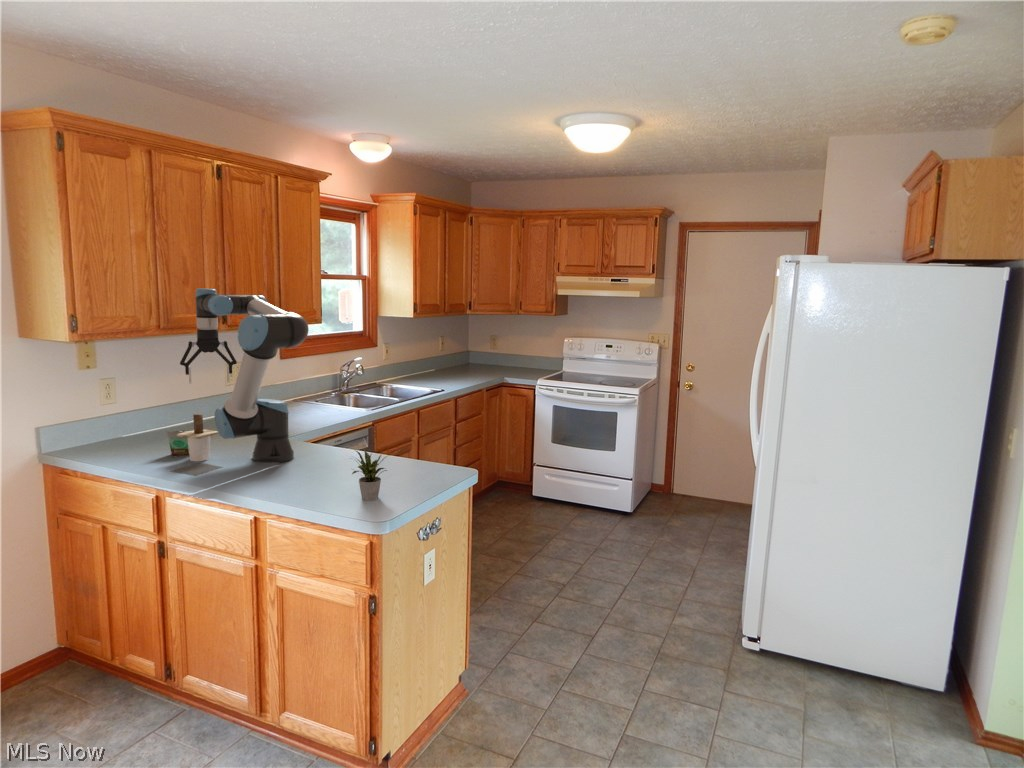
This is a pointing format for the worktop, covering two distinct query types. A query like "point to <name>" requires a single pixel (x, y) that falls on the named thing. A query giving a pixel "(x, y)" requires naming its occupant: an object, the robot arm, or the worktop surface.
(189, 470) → the mat
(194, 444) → the white cup
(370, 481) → the house plant
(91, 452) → the worktop surface
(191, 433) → the lid
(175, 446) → the food container
